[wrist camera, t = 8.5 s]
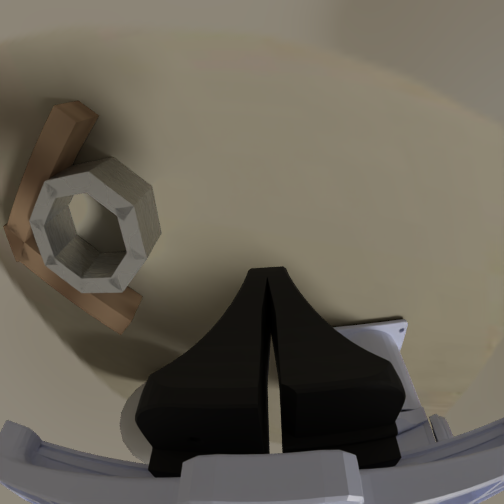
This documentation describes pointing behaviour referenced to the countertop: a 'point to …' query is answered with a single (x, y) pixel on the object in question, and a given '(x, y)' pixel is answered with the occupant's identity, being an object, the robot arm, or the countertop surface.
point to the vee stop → (18, 227)
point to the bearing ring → (79, 251)
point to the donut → (134, 429)
